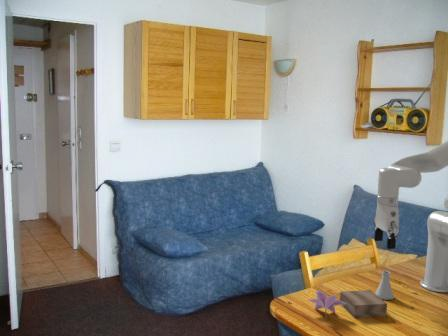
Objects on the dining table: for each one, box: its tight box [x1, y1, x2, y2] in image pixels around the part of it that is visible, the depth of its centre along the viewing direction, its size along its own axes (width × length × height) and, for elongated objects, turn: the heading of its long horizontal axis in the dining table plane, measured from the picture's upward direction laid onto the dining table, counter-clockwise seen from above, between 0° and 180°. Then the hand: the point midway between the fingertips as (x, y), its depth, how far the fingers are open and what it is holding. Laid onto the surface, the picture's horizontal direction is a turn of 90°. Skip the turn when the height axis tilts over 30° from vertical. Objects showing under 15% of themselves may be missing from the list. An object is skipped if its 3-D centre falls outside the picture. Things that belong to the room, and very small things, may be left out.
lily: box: [307, 289, 347, 321], centre depth 163 cm, size 12×12×10 cm
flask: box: [374, 270, 395, 301], centre depth 181 cm, size 7×7×10 cm
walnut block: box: [339, 289, 388, 319], centre depth 169 cm, size 12×12×5 cm
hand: (384, 244), depth 179 cm, fingers open, 9 cm apart
